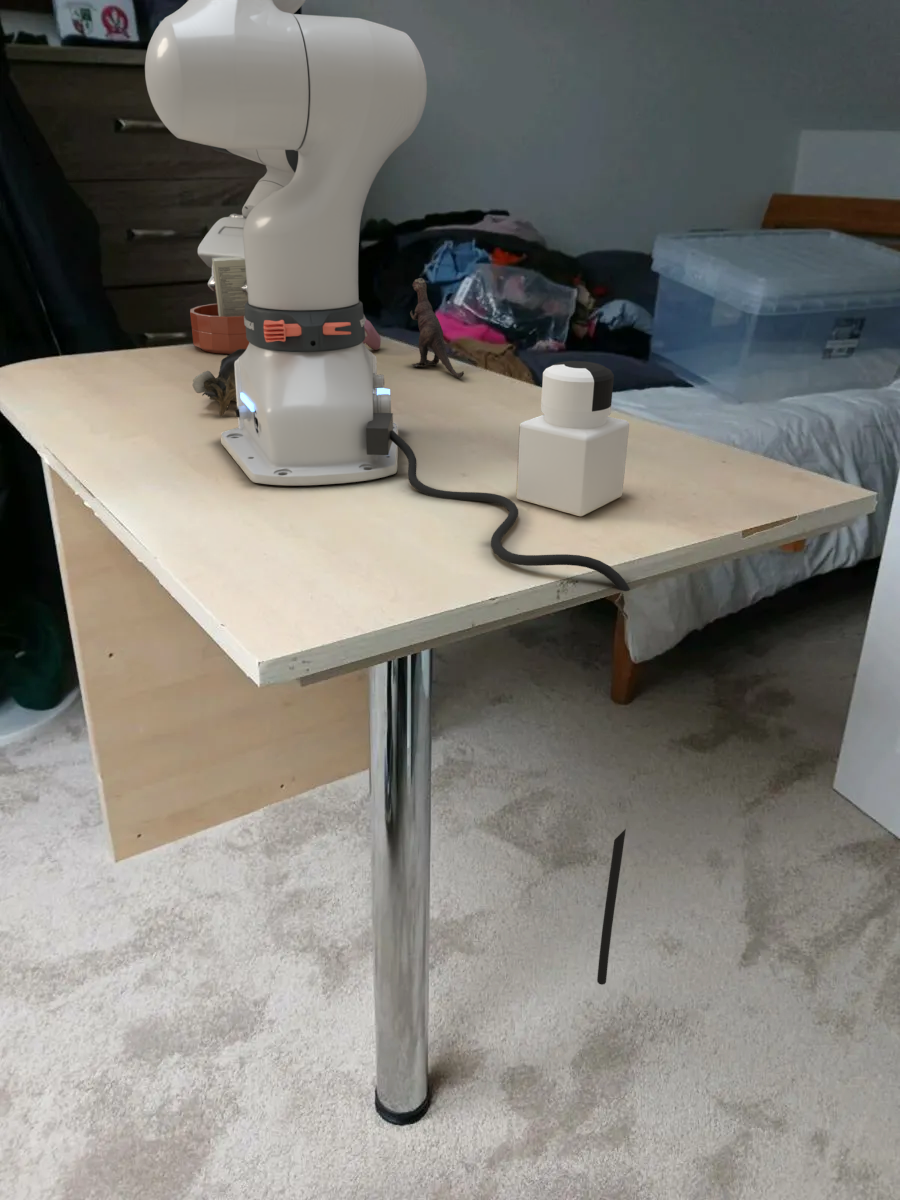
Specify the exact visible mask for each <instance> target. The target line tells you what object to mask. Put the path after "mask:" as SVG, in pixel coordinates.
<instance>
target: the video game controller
mask: <svg viewBox="0 0 900 1200" xmlns="http://www.w3.org/2000/svg"><path fill="white" fill-rule="evenodd" d="M364 328H365V340H364V341H363V344H364V345H366V346H367V347H369V348H370V349H372V350H373V351H378V350H379V349H380V348H381V343H382V340H381V336H380V334H379V333H378V331H377V330H376V328H375V327H374V326H373V324H372V323H371V321H370V320H368V319H367V317H365V325H364Z"/></svg>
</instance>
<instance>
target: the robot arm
mask: <svg viewBox="0 0 900 1200" xmlns="http://www.w3.org/2000/svg"><path fill="white" fill-rule="evenodd" d="M306 1H307V0H186V2H185V3H184V4H183V5H182V6H181V7H180V8H179V9H177V10H176V11H174V12H173V13H171V14H169V15H167V16H166V17H164V18H163V19H162V20H161V21H160V23H159V24H158V26H157V27H156V28H155V30H154V32H153V34H152V36H151V38H150V40H149V42H148V45H147V50H146V54H145V62H144V77H145V85H146V89H147V93H148V96H149V99H150V102H151V105H152V107H153V109H154V111H155V113H156V114H157V116H158V118H159V119H160V121H161V122H162V124H163V125H164V126H165V128H166V129H168V131H169V132H170V133H171V134H172V135H173V136H174V137H176V138H177V139H178V140H184V141H188V142H191V143H196V144H201V145H205V146H210V148H212V150H214V151H216V152H219V153H224V154H228V155H233V156H236V157H237V156H238V157H241V158H244V159H247V160H250V161H252V162H255V163H258V164H261V165H264V166H265V168H266V173H264V176H262V177H261V178H260V179H258V181H257V182H256V184H255V186H254V188H253V189H252V191H251V192H250V194H249V196H248V197H247V199H246V201H245V203H244V204H243V206H242V209H241V214H238V213H231V214H230V215H229V216H224V217H221V218H219V219H218V220H217V221H216V222H215V223H214V224H213V225H212V226H211V228H210V229H209V230H208V232H207V233H206V234H205V236H203V237H204V238H203V239H202V240H201V242H200V243H199V245H198V247H197V255H198V257H199V258H200V260H201V261H202V262H203V263H204V264H205V265H206V266H207V267H208V268H210V269H211V276H210V278H209V280H208V282H207V286H208V288H209V289H210V290H211V291H212V292H216V289H215V281H214V273H213V264H212V258H222V257H241V258H245V266H246V279H247V280H245V282H244V285H243V286H242V288H241V289H242V291H243V292H244V293H245V295H247V296H248V302H247V303H246V304H245V316H244V324H245V326H246V338H247V340H248V341H249V345H248V347H247V349H246V351H245V352H244V353H243V354H242V355H241V356H240V357H239V358H238V360H236V361H235V363H234V367H235V383H236V398H237V402H236V409H235V414H236V417H237V425H238V427H233V428H231V429H227V430H225V431H222V432H221V434H220V444H221V445H222V447H224V448H225V450H226V451H227V453H228V454H229V455H230V456H231V458H233V460H234V461H235V462H236V464H237V465H238V466H239V467H240V469H241V470H242V471H243V472H244V474H245V475H246V476H247V477H248V478H249V480H250V481H251V482H252V483H256V484H260V485H261V484H262V485H270V486H321V485H335V484H347V483H348V484H349V483H356V482H357V483H358V482H364V481H372V480H377V479H380V478H381V479H382V478H385V477H388V476H392V475H394V474H396V473H397V471H398V457H399V456H398V455H399V449H400V450H401V451H402V453H403V454H404V456H405V457H406V459H407V461H408V467H407V478H408V482H409V484H410V485H411V486H412V487H413V488H414V489H416V491H418V492H420V493H421V494H424V495H426V496H428V497H433V498H439V499H446V500H455V501H470V502H483V503H484V502H485V503H492V504H497V505H500V506H502V507H504V508H505V509H506V510H507V511H508V515H507V517H506V518H505V519H504V520H503V522H502V523H500V525H498V527H497V528H496V529H495V531H494V532H493V534H492V536H491V539H490V547H491V549H492V551H493V553H494V554H495V556H497V557H498V558H499V559H501V560H502V561H504V562H506V563H508V564H513V565H517V566H526V567H528V566H529V567H534V566H535V567H539V566H540V567H541V566H575V567H582V568H587V569H591V570H593V571H595V572H597V573H598V574H599V573H600V574H601V575H603V576H604V577H606V578H607V579H608V580H609V581H610V582H612V584H613V585H614V586H615V587H616V589H617V590H619V591H621V592H629V591H630V590H631V589H630V587H629V585H628V583H627V582H626V580H625V578H623V576H622V575H621V574H620V573H618V571H616V570H615V569H614V568H613V567H612V566H610V565H608V564H607V563H606V562H604V561H601V560H599V559H596V558H593V557H590V556H586V555H579V554H568V553H567V554H566V553H565V554H564V553H563V554H558V553H557V554H518V553H513V552H511V551H509V550H508V549H506V548H505V547H504V546H503V545H502V540H503V538H504V537H505V535H506V534H507V533H508V532H509V530H511V528H512V527H513V526H514V524H515V523H516V522H517V519H518V518H519V508H518V506H517V505H516V503H515V502H513V501H512V500H511V499H509V497H508V498H507V497H505V496H503V495H500V494H496V493H490V492H479V491H477V492H475V491H473V492H472V491H451V490H443V489H437V488H433V487H430V486H428V485H426V484H424V483H423V482H422V481H421V480H419V478H418V477H417V469H418V464H417V456H416V455H415V452H414V451H413V449H412V447H410V445H409V444H408V443H407V442H406V441H405V440H404V439H403V438H402V437H400V435H399V427H398V424H397V423H395V422H394V416H393V415H394V413H393V412H392V395H391V389H390V388H385V376H384V374H378V369H377V368H378V366H377V364H378V363H377V356H376V355H375V354H373V352H372V351H370V350H369V349H368V348H367V347H366V344H365V343H364V344H363V341H364V340H365V328H364V325H365V318H366V315H365V314H364V304H363V302H362V301H361V300H360V299H359V297H360V296H359V248H360V247H359V245H360V244H359V243H360V232H361V231H360V230H361V229H360V228H361V221H362V215H363V211H364V208H365V207H364V206H365V203H366V201H367V198H368V195H369V191H370V189H371V187H372V184H373V183H374V181H375V179H376V177H377V175H378V174H379V172H380V170H381V168H382V167H383V165H384V164H385V162H386V161H387V160H388V158H389V157H390V156H391V155H392V154H393V152H395V151H396V150H397V149H398V148H399V147H400V146H401V145H402V144H403V143H404V142H406V141H407V140H408V139H409V138H410V137H411V135H412V134H413V133H414V131H415V130H416V128H417V127H418V125H419V123H420V121H421V119H422V117H423V114H424V111H425V107H426V104H427V103H426V102H427V96H428V95H427V94H428V78H427V72H426V68H425V64H424V61H423V59H422V55H421V53H420V51H419V49H418V48H417V45H416V44H415V42H414V41H413V39H412V38H411V37H410V35H408V33H406V32H405V31H402V30H399V29H396V28H393V27H391V26H388V25H385V24H381V23H378V22H374V21H370V20H367V19H364V18H360V17H348V16H347V17H346V16H333V15H331V16H330V15H316V14H299V13H296V12H297V11H298V10H299V9H300V8H301V7H303V5H304V4H305V2H306ZM626 830H627V829H626V828H624V829H623V831H622V832H621V833H620V834H618V836H616V837H615V838H614V840H613V847H612V855H611V861H610V868H609V876H608V884H607V890H606V897H605V905H604V912H603V913H604V914H603V919H602V920H603V921H602V928H601V929H602V930H601V937H600V946H599V955H598V967H597V968H598V969H597V977H596V981H597V983H598V984H599V985H601V986H603V985H605V984H606V983H607V977H608V976H607V975H608V967H609V955H610V948H611V940H612V931H613V923H614V915H615V908H616V901H617V894H618V886H619V880H620V873H621V866H622V859H623V852H624V847H625V846H624V845H625V839H626Z"/></svg>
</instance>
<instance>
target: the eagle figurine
mask: <svg viewBox="0 0 900 1200" xmlns="http://www.w3.org/2000/svg"><path fill="white" fill-rule="evenodd" d="M245 351H246V349H239V350H236V351H235V352H233V353H232V354H228V355H226V356H225V357H224V358H223V359H221V361H220V366H219V370H218V374H217V375H218V376H217V377H215V375H214V374H213V373H212V372H211V371H209V370H206V371H204V372H201V373H200V374H198V375H197V376H195V377H194V378H193V380H192V387H193V390H194V392H195V393H197V394H201V396H202V397H204V396H207V398H209V400H211V401H216V402H218V404H219V417H223V415H224V414H225V412H226V411H227V410H228V407H229V406H230V404H231V401H232V402H236V403H237V398H236V383H235V367H234V363H235V361H236V360H238V358H239V357H240V356H241V355H242V354H243V353H244V352H245Z"/></svg>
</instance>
